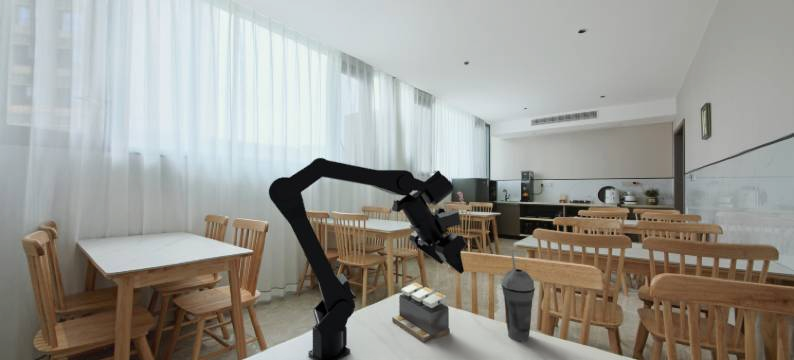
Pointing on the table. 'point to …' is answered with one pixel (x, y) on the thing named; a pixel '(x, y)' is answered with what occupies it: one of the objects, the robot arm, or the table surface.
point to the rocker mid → (422, 294)
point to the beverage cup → (518, 302)
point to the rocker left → (411, 289)
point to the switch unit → (422, 318)
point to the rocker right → (434, 300)
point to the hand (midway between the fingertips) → (451, 267)
